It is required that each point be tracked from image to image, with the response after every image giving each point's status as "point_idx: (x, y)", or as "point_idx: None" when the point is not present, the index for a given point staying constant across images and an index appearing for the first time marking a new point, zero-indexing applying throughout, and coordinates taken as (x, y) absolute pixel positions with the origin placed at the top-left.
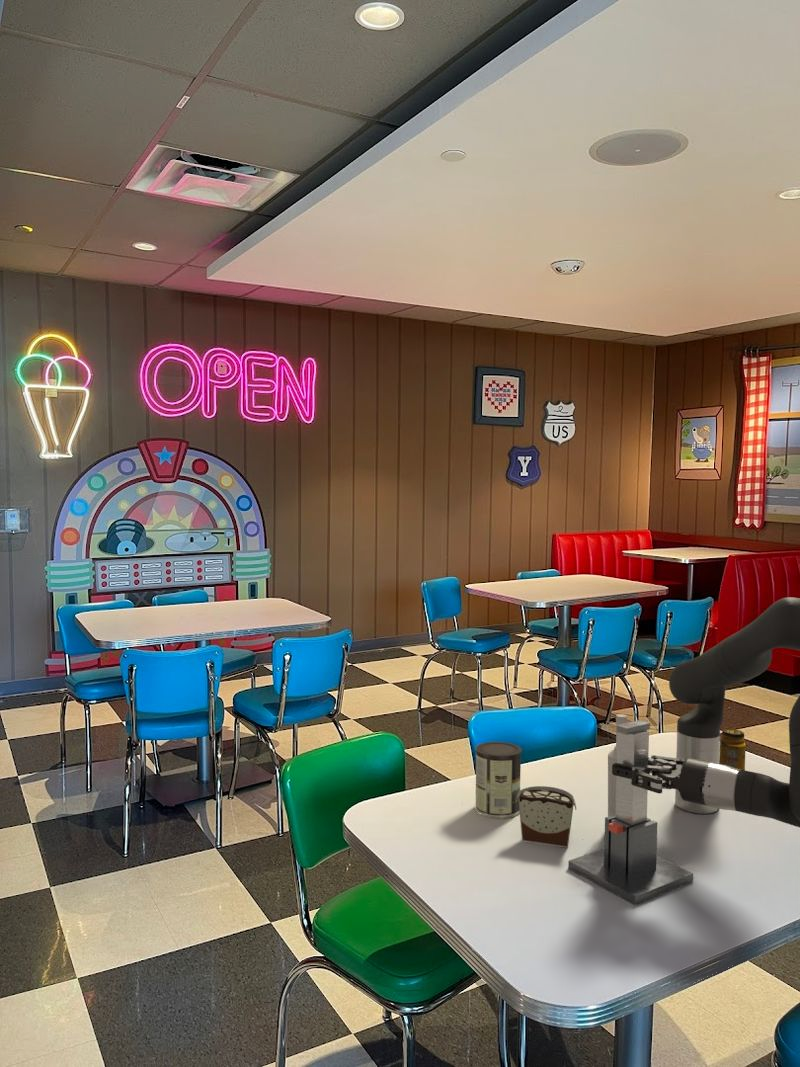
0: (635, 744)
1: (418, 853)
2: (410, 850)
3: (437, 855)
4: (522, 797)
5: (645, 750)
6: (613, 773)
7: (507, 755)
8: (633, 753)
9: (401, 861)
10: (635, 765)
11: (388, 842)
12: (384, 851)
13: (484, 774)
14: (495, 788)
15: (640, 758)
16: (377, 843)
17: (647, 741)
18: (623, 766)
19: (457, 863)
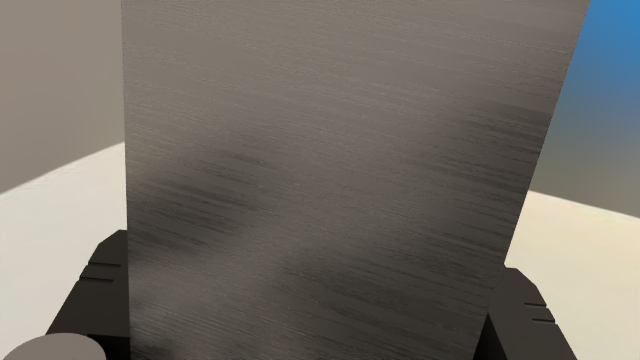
0: (153, 35)
1: (86, 209)
2: (95, 198)
3: (91, 232)
4: None
5: (405, 259)
6: None
7: None
8: (133, 175)
9: (32, 200)
10: (157, 350)
11: (117, 170)
12: (71, 174)
13: None
14: None
15: (264, 317)
16: (103, 161)
17: (503, 114)
18: (118, 272)
19: (62, 268)
